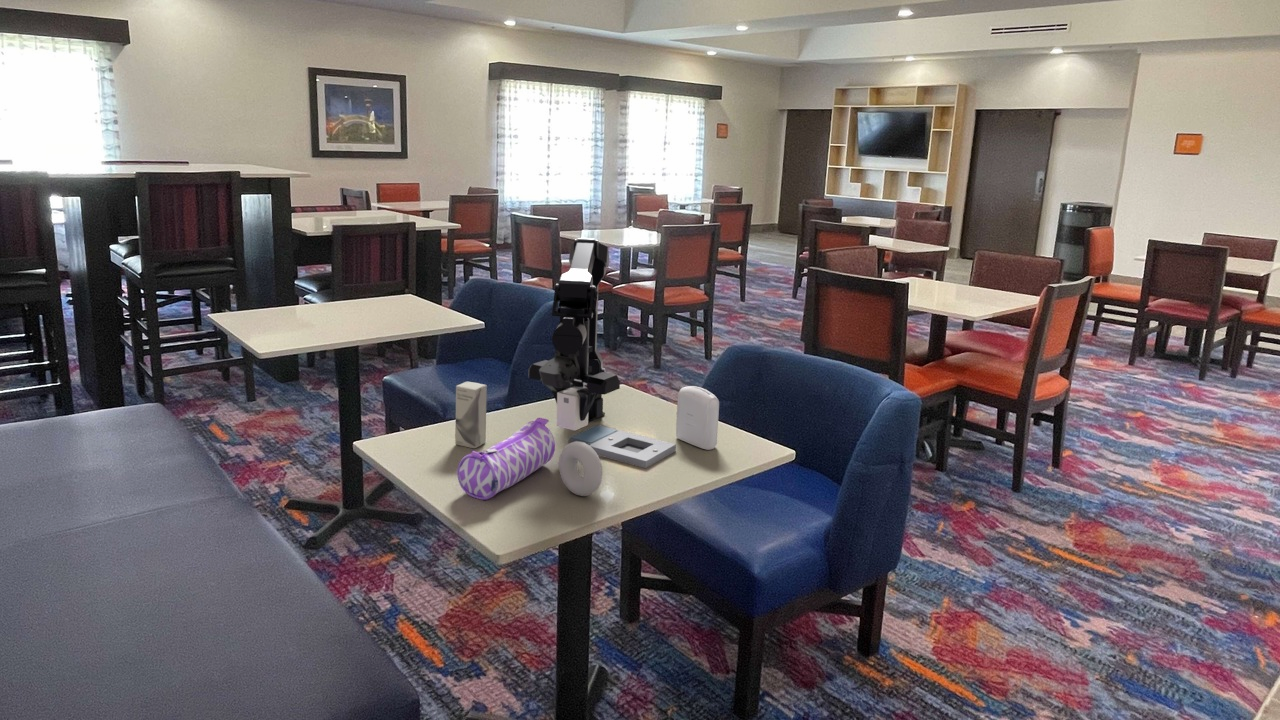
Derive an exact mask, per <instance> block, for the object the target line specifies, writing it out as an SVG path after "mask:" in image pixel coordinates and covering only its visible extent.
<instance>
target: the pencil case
mask: <svg viewBox="0 0 1280 720" xmlns="http://www.w3.org/2000/svg"><path fill="white" fill-rule="evenodd" d="M549 422H550V420H549V419H546V418H543V417H537V418H535V420H531V421H529V422H527V423H525V424H524V425H523V426H522V427H521V428H520V429H518V430H516V431H515V432H514V433H513V434H512V435H510V436H509V437H507V438H505V439H504V440H501V441H500V442H498V443H496V444H494V445H493V446H491V447H488V448H487V449H483V450H482V451H479V452H478V451H475V450H472V452H471V453H468V454H466V455H465V456H464V457H462V458H461V460H460V461H459V464H458V465H457V473H456V475H457V479H458V484H459V486H460V487H461V489H462V490H463V491H464V492H465V494H467V495H469V496H470V497H471V498H474V499H478V500H481V501H482V500H483V501H486V500H490V499H491V498H493V497H494V496H495V495H496V494H498V493H500V492H501V491H503V490H506V489H508V488H510V487H512V486H515V484H518V482H520V481H523V479H525V478H527V477H528V476H529V475H531V474H533V473H534V472H536V471H537V470H539V469H540V468H541V467H542V466H544V465H546V464H547V463H549V462H550V461H552V459H553V457H554V454H555V451H556V443H555V437H554V435H553V433H552V431H551V429H550V428H548V427H547V426H546V425H547V424H548V423H549Z"/></svg>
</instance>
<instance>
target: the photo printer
mask: <svg viewBox="0 0 1280 720" xmlns="http://www.w3.org/2000/svg"><path fill="white" fill-rule="evenodd" d="M719 400H720V399H719V398H717V396H716V395H715V394H713V393H712V392H711V391H709V390H707V389H706V388H703V387H699V386H696V385H688V386H685V387H684V386H683V387H681V388H680V390H679V391H678V393H677V402H676V405H677V406H676V424H675V425H676V427H675V437H676V438H677V439H678V440H681V441H682V442H685V443H688V444H690V445H693V446H695V447H698V448H700V449H704V450H706V451H707V450H708V451H709V450H714V449H716V446H717V444H718V432H719V431H718V430H719V427H718V426H719V411H720V401H719Z"/></svg>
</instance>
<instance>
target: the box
mask: <svg viewBox="0 0 1280 720" xmlns="http://www.w3.org/2000/svg"><path fill="white" fill-rule="evenodd" d="M487 389H488V386H487V384H483V383H479V382H473V381H464V382H462V383H460V384H457V385H455V431H454V432H455V434H454V435H455V437H454V438H455V442H454V444H455V445H458V446H461V447H466V448H471V449H477V448H478V447H480V446H482V445H484V444H485V443H486V438H487V437H486V436H487V435H486V434H487V433H486V432H487Z"/></svg>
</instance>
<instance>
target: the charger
mask: <svg viewBox="0 0 1280 720" xmlns="http://www.w3.org/2000/svg"><path fill="white" fill-rule="evenodd" d="M577 390H580V389H575V388H568V389H565V390H563V391H560V392H557V403H556V427H560V428H562V429H563V428H564V429H567V430H570V431H577V430H579V429H582V428H584V427H587V426H588V425H589V421H588V414H587V416H586V418H585V420H583V421H581V420H580V396H579V394H578V393H577Z"/></svg>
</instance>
